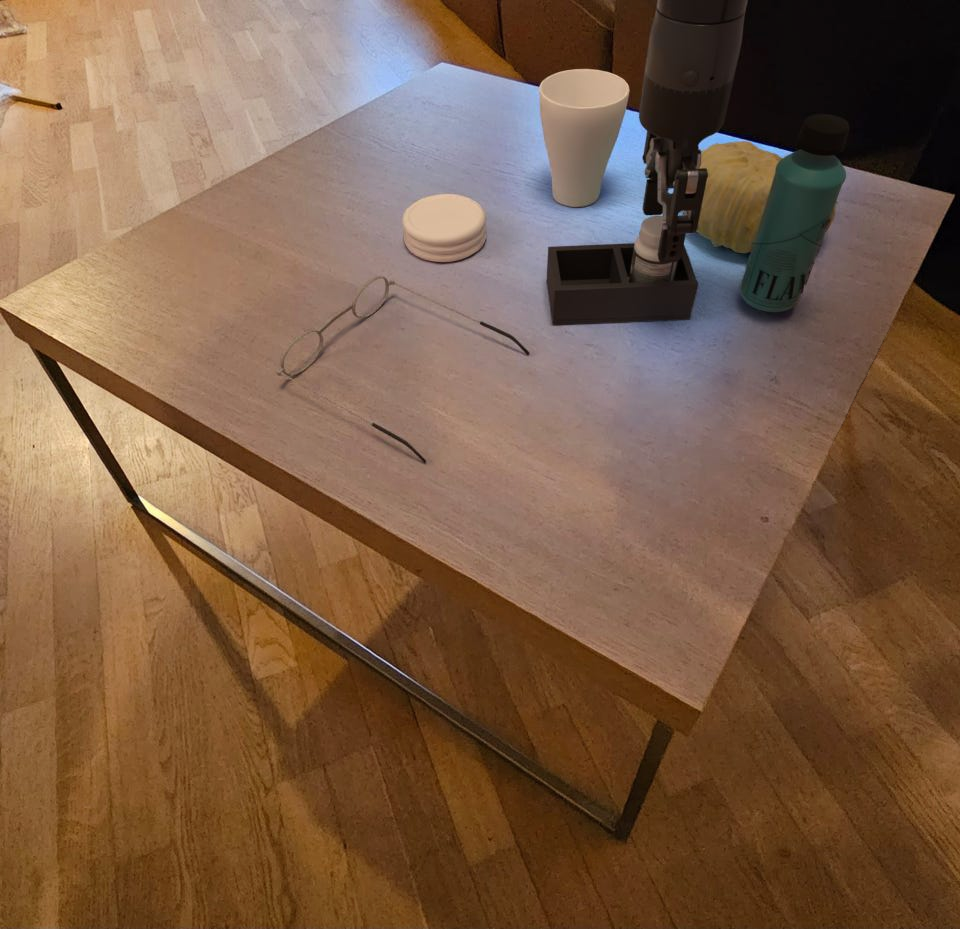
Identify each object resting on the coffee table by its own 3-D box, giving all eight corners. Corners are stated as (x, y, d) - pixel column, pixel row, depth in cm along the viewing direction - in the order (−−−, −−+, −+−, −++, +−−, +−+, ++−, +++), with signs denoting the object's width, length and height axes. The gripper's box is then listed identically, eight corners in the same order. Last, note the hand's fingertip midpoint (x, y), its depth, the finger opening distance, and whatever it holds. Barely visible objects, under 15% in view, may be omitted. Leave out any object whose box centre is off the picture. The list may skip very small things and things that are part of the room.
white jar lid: (437, 274, 84) (435, 248, 81) (388, 238, 89) (385, 212, 86) (502, 241, 88) (502, 215, 85) (452, 208, 93) (450, 183, 90)
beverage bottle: (733, 320, 77) (789, 136, 62) (735, 283, 81) (788, 101, 66) (797, 328, 76) (871, 142, 61) (795, 290, 80) (863, 107, 65)
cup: (614, 219, 90) (628, 110, 80) (531, 214, 91) (534, 106, 81) (617, 176, 97) (631, 70, 86) (539, 172, 98) (543, 67, 88)
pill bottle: (641, 275, 82) (652, 207, 75) (678, 290, 80) (693, 222, 73) (618, 295, 79) (628, 228, 73) (656, 312, 77) (669, 244, 71)
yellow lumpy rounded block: (790, 299, 83) (845, 215, 88) (813, 228, 74) (872, 138, 78) (659, 251, 90) (716, 175, 94) (664, 180, 80) (727, 99, 85)
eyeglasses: (390, 293, 82) (386, 263, 79) (530, 358, 75) (532, 328, 72) (277, 385, 73) (267, 356, 70) (424, 469, 66) (421, 441, 63)
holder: (546, 281, 83) (548, 246, 79) (675, 276, 83) (683, 240, 79) (552, 325, 78) (554, 290, 74) (690, 319, 78) (698, 284, 74)
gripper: (756, 103, 57) (713, 276, 69) (714, 33, 66) (682, 197, 78) (661, 107, 57) (635, 279, 69) (632, 37, 66) (613, 200, 79)
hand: (660, 235), depth 74 cm, fingers open, 8 cm apart
